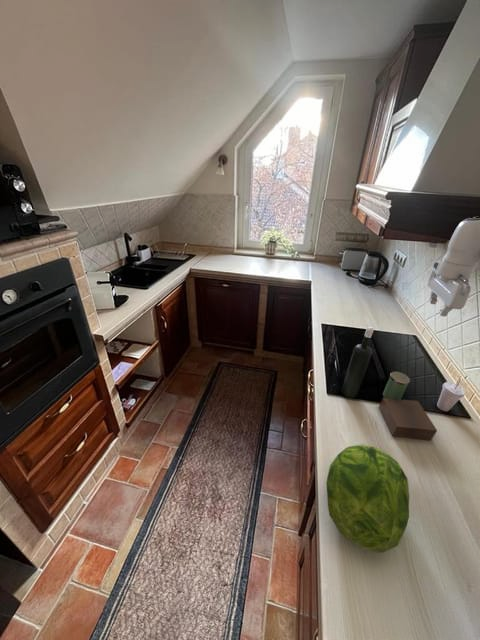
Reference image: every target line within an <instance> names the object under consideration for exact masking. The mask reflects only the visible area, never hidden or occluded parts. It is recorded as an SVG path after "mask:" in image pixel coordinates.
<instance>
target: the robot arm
mask: <svg viewBox="0 0 480 640" xmlns="http://www.w3.org/2000/svg"><path fill="white" fill-rule="evenodd" d="M472 217H473V218H470V217H467V218H465V219H463V220H462V221H461V222H459V224H458V225H457V226H456V228H455V229H454V232H453V233H452V235H451V237H450V239H449V242H448V245H447V250H446V252H445V254H444V255H443V256H442V258H441V260H439V261H438V260H436V261H434V262H433V264H432V268H433V269H431V271H430V275H429V278H428V280H427V287H428V288H429V289H430V290H431V291H430V298H429V300H428V302H429V304H430V305H436V304H437V302H438V298H439V300H441V302H443V304H444V305H443V308H441V309H440V310H439V312H438V314H439V315H440V317H447V316H448V314H449V313H450V312H451V311H453V310H462V309H463V308H464V307H465V306H466V303H467V301H468V298H469V296H470V294H471V291H472V289H471V288H472V287H471V285H470V279H471V278H472V277H473V276H472V275H473V274H474V272H475V270H476V268H477V266H478V264H479V263H480V218H476V217H477V216H472Z"/></svg>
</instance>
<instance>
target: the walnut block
mask: <svg viewBox="0 0 480 640" xmlns="http://www.w3.org/2000/svg"><path fill="white" fill-rule="evenodd" d="M378 409H379V411H380V414H381V417H383V420H384V422H385V424H386V427H387V428H388V431H389V433H390V435H391V437H394V438H402V439H412V440H423V441H432V439H433V438H434V437H435V435H436V433H437V432H438V429H437V428H436V426H435V425H434V423H433V422H432V420H431V419H430V417H429V415H428V414H427V412H426V411H425V409H424V407H422V404H421V403H420V402H419V400H414V399H413V400H412V399H402V398H401V399H391V398H384V397H382V398H381V401H380V403H379V405H378Z"/></svg>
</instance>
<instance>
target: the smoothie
mask: <svg viewBox="0 0 480 640" xmlns="http://www.w3.org/2000/svg"><path fill="white" fill-rule="evenodd" d="M461 382H462V379H460V378H459V379H458V381H457V382H456V383H454V382H452V381H445V382H443V384H442V386H441V388H442V389H441V392H440V395H439V397H438V399H437V403H436V407H437V408H438V409H439V410H440V411H443V412H449V411H450V410H451V409H452V408H453V407H454V406H455V405H456V403H457V402H458V401H459V400H461V398H463V397H464V396H465V395H466V393H467V392H466V390H465V388H464V387H462V386H461V385H460V384H461Z"/></svg>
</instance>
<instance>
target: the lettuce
mask: <svg viewBox="0 0 480 640" xmlns="http://www.w3.org/2000/svg"><path fill="white" fill-rule="evenodd" d="M325 482H326V499H327V508H328V514H329V517H330V519H331V521H332V522H333V524H334V526H335V527H336V528H337V529H338V531H339V532H340V533H341V534H342V535H343V536H344V537H345V538H347V539H348V541H350V543H351V542H352V543H353V544H355V545H356V546H358V547H360V548H362V549H364V550H367V551H369V552H373V553H385V552H387V551H389V550H392V549H393V548H395V547H398V545H399V543H400V541H401V539H402V537H403V535H404V533H405V531H406V529H407V526H408V522H409V518H410V490H409V489H410V487H409V481H408V477H407V475H406V474H405V472H404V470H403V468H402V467H401V465H400V463H399V461H397V460H396V459H395V458H394V457H393V456H391V455H390V454H389V453H388V452H386V451H384V450H382V449H380V448H378V447H375V446H371V445H367V444H355V445H350V446H347V447H345V448H344V449H343V450H342V451H340V452H339V454H337V455H336V457H335V458H334V459H333V461H332V462H331V463H330V465H329V468H328V472H327V477H326V481H325Z"/></svg>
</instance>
